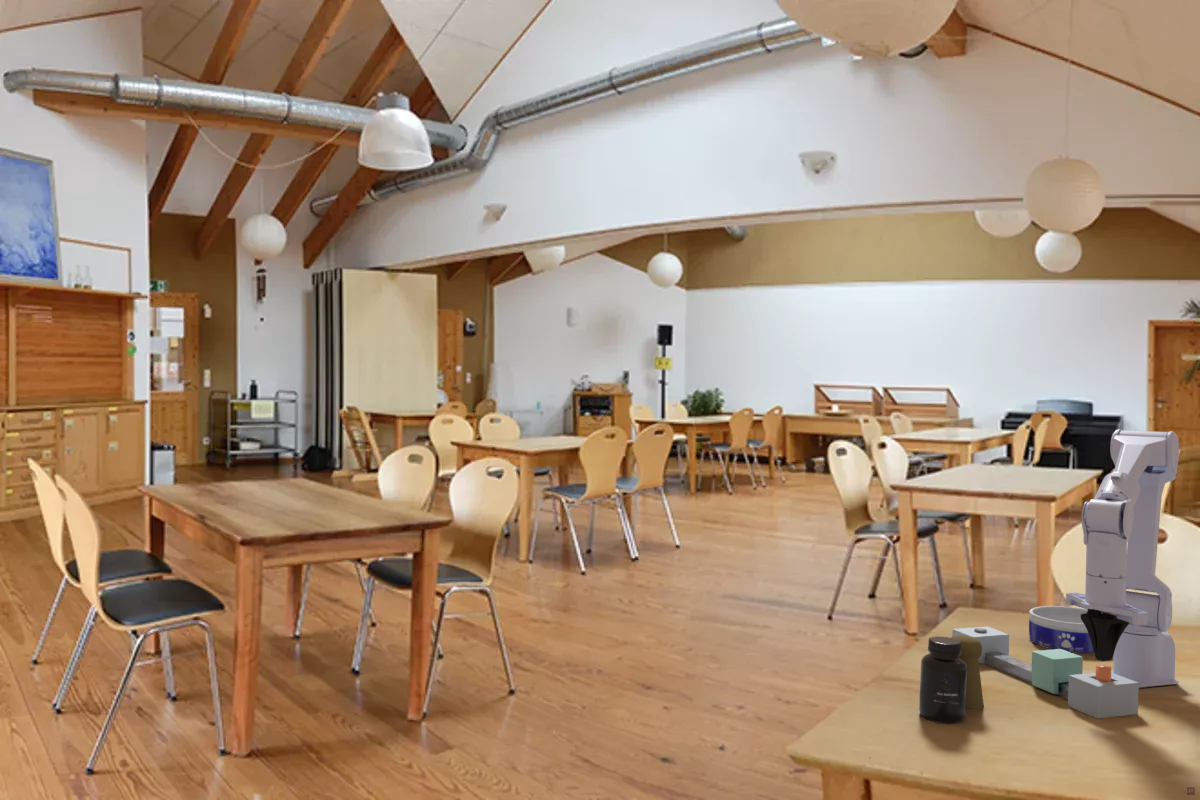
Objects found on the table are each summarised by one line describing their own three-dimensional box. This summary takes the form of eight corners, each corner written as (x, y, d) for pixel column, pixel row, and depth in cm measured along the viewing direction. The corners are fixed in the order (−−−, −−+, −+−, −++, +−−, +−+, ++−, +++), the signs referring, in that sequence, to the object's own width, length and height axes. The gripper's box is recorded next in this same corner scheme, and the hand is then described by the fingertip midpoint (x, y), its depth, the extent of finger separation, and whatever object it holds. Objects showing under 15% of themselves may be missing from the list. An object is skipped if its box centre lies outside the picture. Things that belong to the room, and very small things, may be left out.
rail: (999, 662, 179) (999, 651, 179) (1090, 700, 158) (1091, 688, 158) (985, 663, 178) (985, 653, 178) (1075, 702, 157) (1076, 690, 157)
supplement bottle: (943, 727, 145) (945, 648, 145) (909, 712, 151) (911, 637, 151) (975, 720, 148) (977, 642, 148) (941, 706, 154) (942, 632, 154)
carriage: (1059, 682, 166) (1060, 648, 166) (1082, 691, 162) (1082, 656, 161) (1031, 684, 165) (1031, 651, 164) (1052, 694, 160) (1053, 659, 160)
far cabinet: (987, 652, 186) (987, 624, 186) (1008, 660, 180) (1009, 632, 180) (951, 655, 183) (952, 626, 183) (972, 664, 178) (973, 635, 178)
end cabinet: (1107, 701, 158) (1108, 671, 157) (1137, 714, 152) (1138, 682, 152) (1068, 705, 155) (1068, 675, 155) (1096, 718, 149) (1097, 686, 149)
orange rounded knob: (1103, 688, 155) (1103, 663, 155) (1114, 692, 153) (1114, 667, 153) (1092, 689, 154) (1092, 664, 154) (1102, 694, 152) (1103, 668, 152)
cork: (987, 712, 152) (988, 642, 152) (947, 708, 153) (948, 640, 153) (980, 699, 158) (981, 633, 158) (941, 696, 159) (942, 630, 159)
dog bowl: (1034, 650, 188) (1034, 619, 188) (1023, 631, 203) (1024, 602, 203) (1120, 658, 184) (1121, 626, 184) (1103, 637, 198) (1104, 608, 198)
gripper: (1051, 567, 159) (1049, 648, 159) (1122, 585, 145) (1120, 674, 145) (1086, 565, 161) (1084, 646, 161) (1159, 583, 147) (1157, 671, 147)
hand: (1103, 659), depth 153 cm, fingers closed
